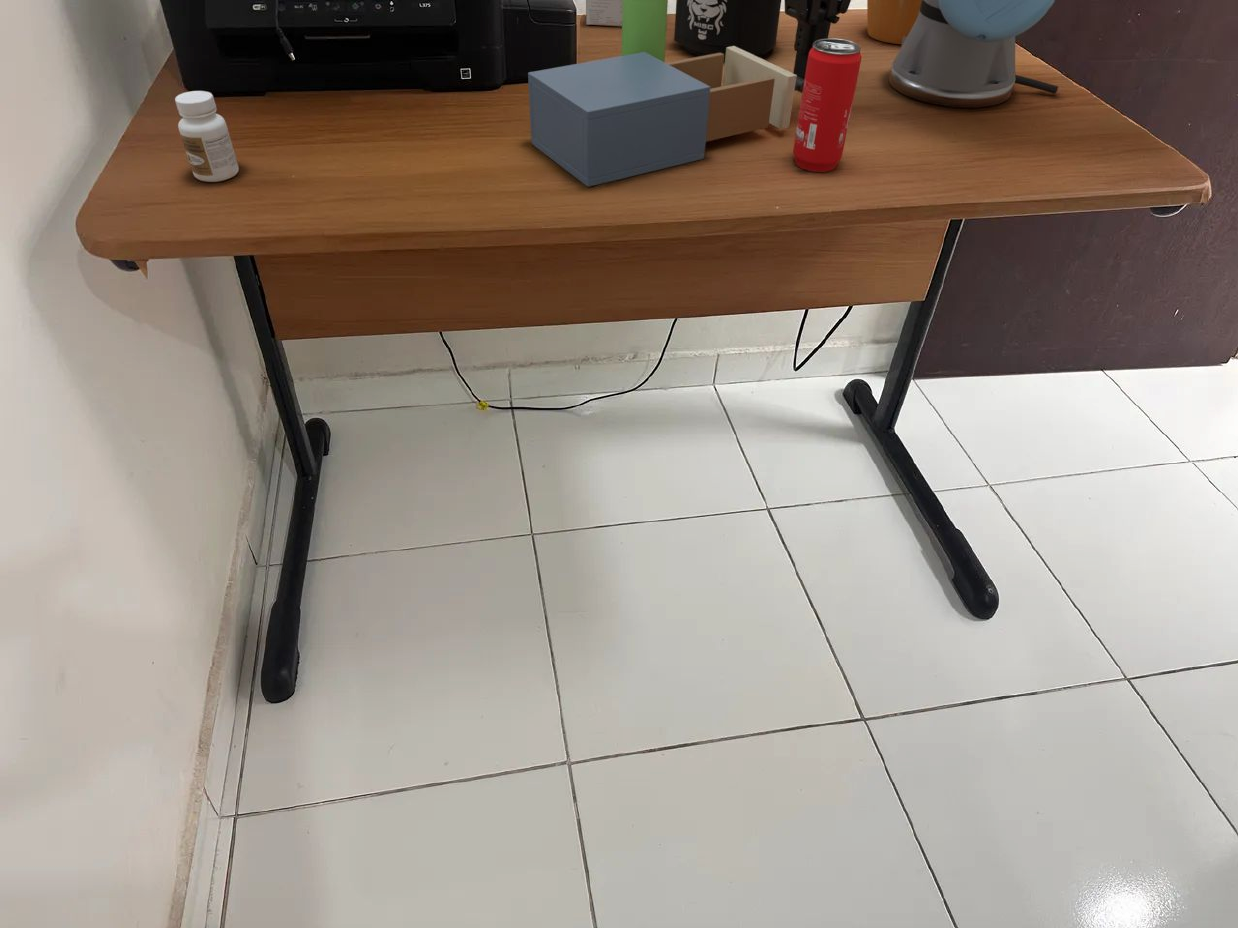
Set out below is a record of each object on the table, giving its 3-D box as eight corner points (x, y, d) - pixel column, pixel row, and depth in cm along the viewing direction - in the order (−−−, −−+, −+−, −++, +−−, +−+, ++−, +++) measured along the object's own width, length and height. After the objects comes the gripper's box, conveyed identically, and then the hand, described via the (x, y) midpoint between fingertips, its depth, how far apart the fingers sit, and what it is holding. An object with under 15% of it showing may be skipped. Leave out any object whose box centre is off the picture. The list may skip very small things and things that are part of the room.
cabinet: (642, 120, 102) (644, 51, 97) (704, 159, 94) (710, 86, 89) (531, 144, 96) (527, 72, 91) (587, 187, 88) (587, 112, 83)
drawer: (756, 90, 107) (762, 40, 103) (817, 121, 100) (826, 68, 96) (635, 116, 100) (637, 63, 96) (692, 151, 93) (696, 96, 89)
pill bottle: (186, 174, 89) (160, 96, 83) (225, 161, 91) (203, 85, 86) (207, 187, 86) (182, 108, 81) (247, 174, 89) (226, 97, 84)
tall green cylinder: (667, 94, 108) (675, -42, 98) (656, 109, 104) (662, -31, 94) (627, 89, 109) (631, -46, 99) (615, 103, 106) (617, -35, 95)
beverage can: (792, 152, 96) (810, 36, 88) (839, 156, 95) (862, 39, 87) (790, 171, 92) (810, 52, 84) (840, 176, 91) (864, 56, 83)
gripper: (868, -169, 92) (825, 62, 108) (772, -165, 87) (742, 78, 103) (919, -159, 88) (866, 82, 104) (821, -153, 82) (781, 99, 98)
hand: (804, 80), depth 103 cm, fingers closed
